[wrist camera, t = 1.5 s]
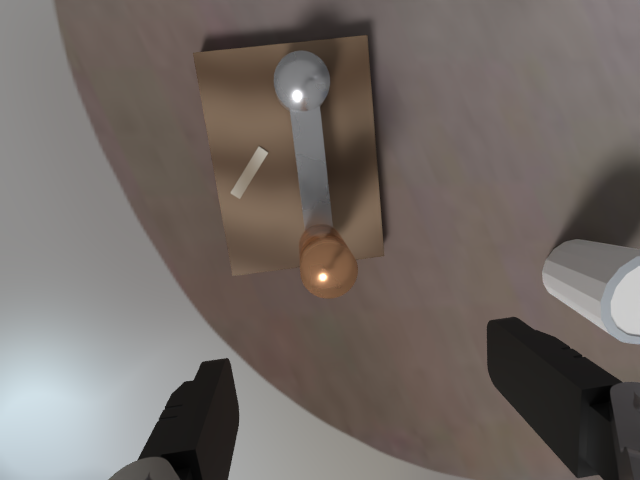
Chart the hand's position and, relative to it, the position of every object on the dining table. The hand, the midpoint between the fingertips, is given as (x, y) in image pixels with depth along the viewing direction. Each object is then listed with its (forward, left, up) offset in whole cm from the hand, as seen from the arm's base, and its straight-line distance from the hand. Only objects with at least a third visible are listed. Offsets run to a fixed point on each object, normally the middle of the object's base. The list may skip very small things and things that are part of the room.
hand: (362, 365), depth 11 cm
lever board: (-6, -1, -19) cm, 20 cm away
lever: (-6, 0, -17) cm, 18 cm away
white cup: (+6, +22, -19) cm, 30 cm away
